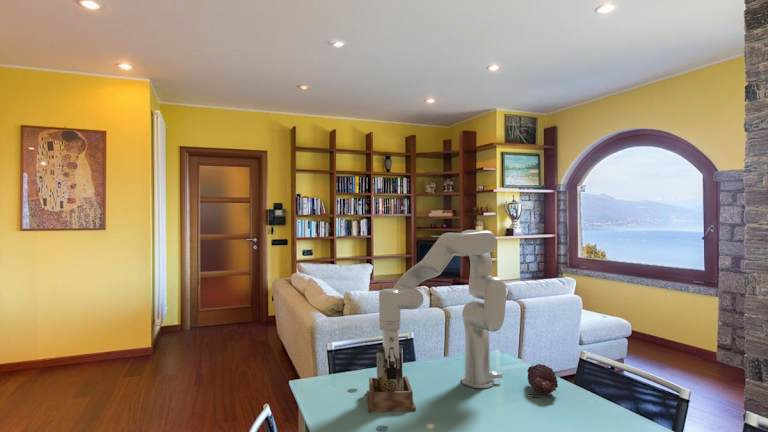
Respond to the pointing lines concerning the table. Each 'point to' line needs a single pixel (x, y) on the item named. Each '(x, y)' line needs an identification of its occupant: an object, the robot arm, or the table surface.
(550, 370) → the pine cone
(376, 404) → the holder
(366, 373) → the table surface
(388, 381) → the coffee box
